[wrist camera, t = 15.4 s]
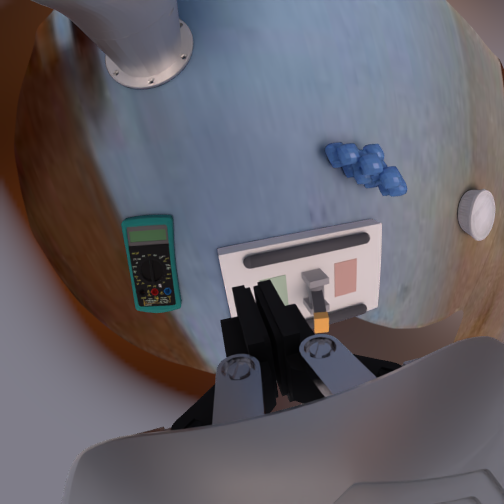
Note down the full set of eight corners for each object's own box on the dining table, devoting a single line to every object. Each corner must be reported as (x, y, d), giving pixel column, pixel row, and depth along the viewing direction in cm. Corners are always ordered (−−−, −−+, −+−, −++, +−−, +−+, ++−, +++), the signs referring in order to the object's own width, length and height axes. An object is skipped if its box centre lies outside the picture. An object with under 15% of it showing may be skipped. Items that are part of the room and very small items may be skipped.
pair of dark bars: (241, 255, 39) (243, 259, 38) (366, 229, 42) (372, 233, 40) (255, 338, 45) (258, 345, 43) (363, 309, 47) (368, 314, 45)
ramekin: (462, 178, 46) (479, 182, 41) (483, 195, 49) (499, 200, 44) (448, 226, 49) (465, 233, 44) (471, 238, 52) (486, 245, 47)
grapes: (382, 163, 41) (431, 171, 30) (364, 197, 43) (411, 214, 32) (328, 123, 38) (373, 116, 27) (308, 160, 39) (348, 165, 28)
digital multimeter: (138, 306, 43) (135, 315, 40) (124, 216, 38) (119, 221, 35) (182, 304, 44) (181, 313, 41) (173, 212, 39) (171, 217, 36)
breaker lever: (307, 280, 42) (311, 316, 33) (323, 278, 42) (331, 315, 33) (308, 297, 43) (312, 335, 34) (323, 295, 43) (331, 333, 34)
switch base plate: (217, 248, 41) (220, 265, 35) (371, 218, 44) (394, 229, 38) (235, 334, 47) (241, 359, 41) (369, 299, 50) (387, 316, 44)
